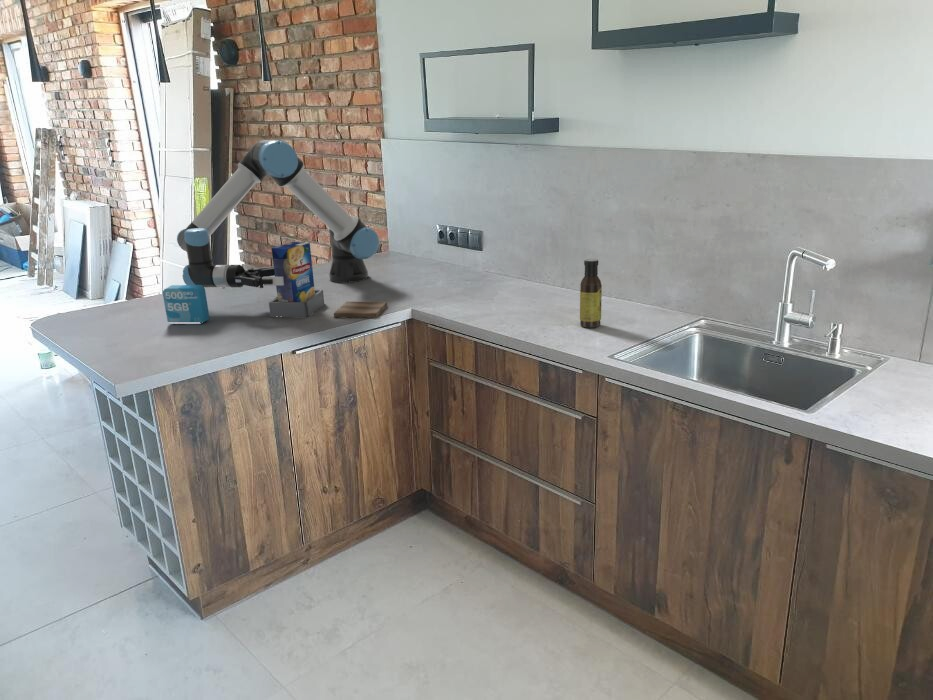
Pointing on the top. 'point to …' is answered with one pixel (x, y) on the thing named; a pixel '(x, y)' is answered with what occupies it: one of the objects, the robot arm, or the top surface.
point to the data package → (186, 303)
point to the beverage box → (294, 271)
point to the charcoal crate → (296, 306)
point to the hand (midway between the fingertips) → (291, 276)
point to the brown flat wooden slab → (360, 309)
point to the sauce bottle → (590, 295)
